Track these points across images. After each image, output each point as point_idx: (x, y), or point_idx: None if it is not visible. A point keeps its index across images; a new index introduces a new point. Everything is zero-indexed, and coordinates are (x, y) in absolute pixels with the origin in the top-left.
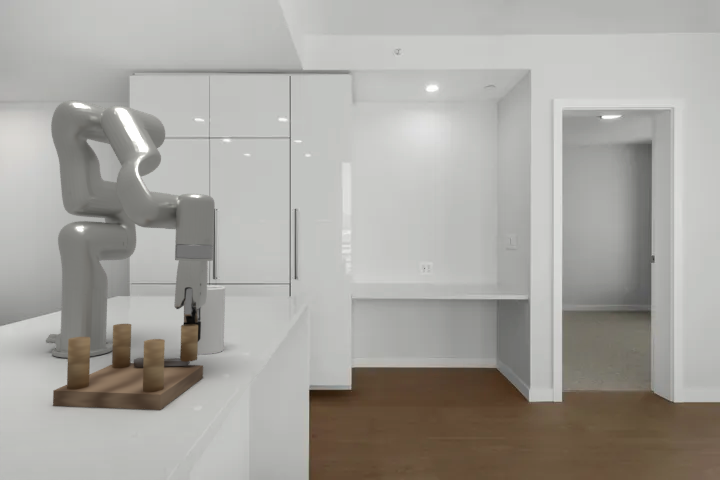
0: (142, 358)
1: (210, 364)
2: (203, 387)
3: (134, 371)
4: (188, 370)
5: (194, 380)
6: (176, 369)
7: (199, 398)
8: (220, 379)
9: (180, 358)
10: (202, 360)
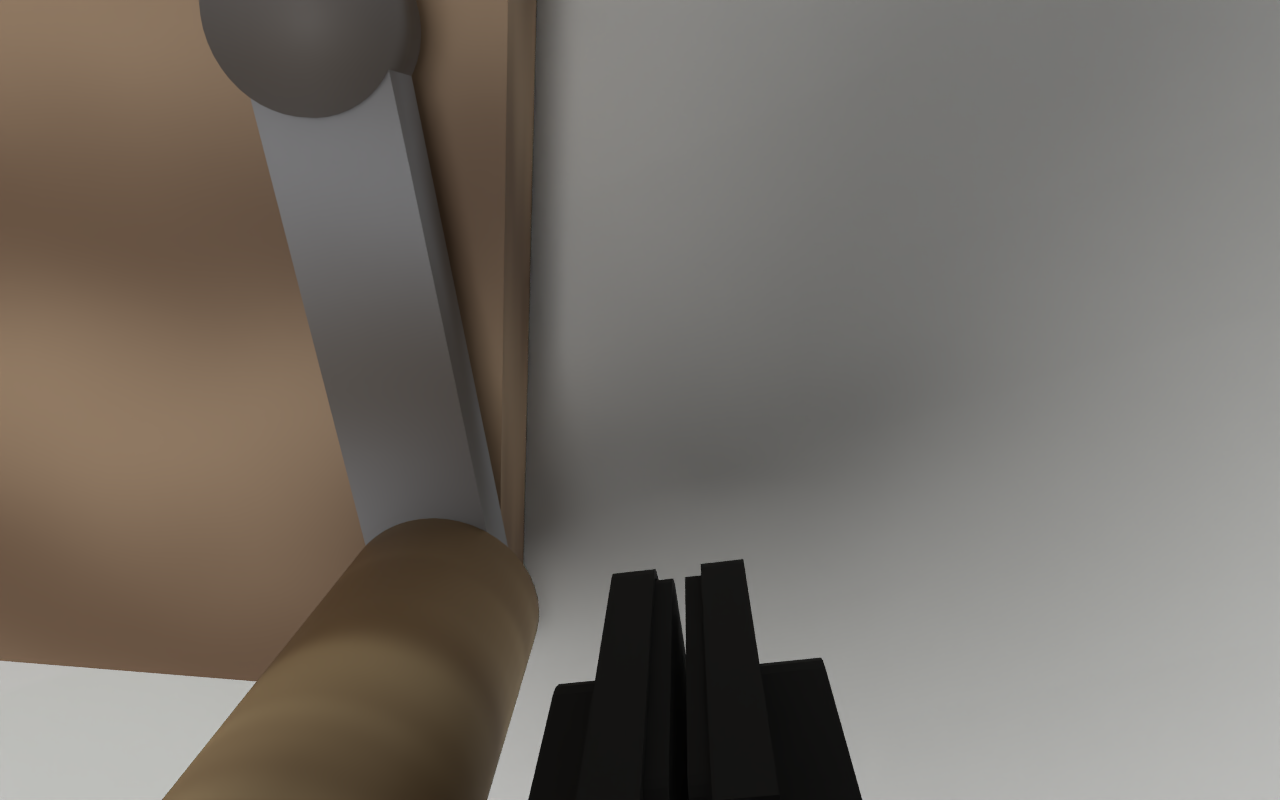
0: (340, 12)
1: (1017, 569)
2: None
3: (128, 50)
4: (290, 620)
5: None
6: (304, 494)
7: (18, 737)
8: (498, 768)
9: (377, 540)
10: (1210, 440)
